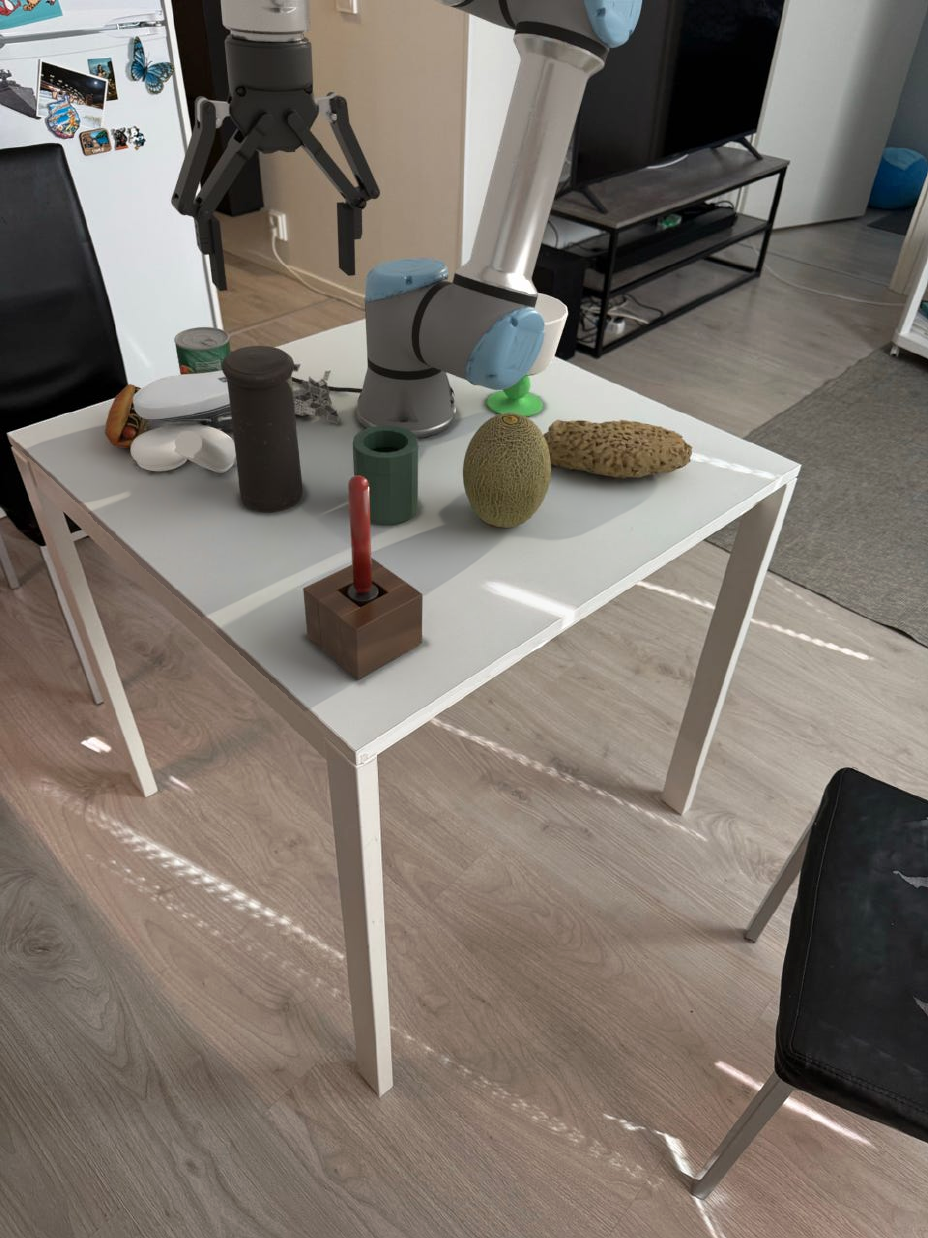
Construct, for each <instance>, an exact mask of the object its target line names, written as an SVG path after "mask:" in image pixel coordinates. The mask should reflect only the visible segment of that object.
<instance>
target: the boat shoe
mask: <svg viewBox="0 0 928 1238" xmlns="http://www.w3.org/2000/svg"><path fill="white" fill-rule="evenodd" d="M133 404H134V408H135V411H136V413H137V414H138V415H139V416H140V417H142V418H143V419H146V420H149V421H151V422H153V423H156V424H162V423H164V424H165V423H179V422H182V423H183V422H185V423H186V422H188V423H189V422H191V423H194V422H195V423H197V424H199V425H205V426H209V427H213V428H215V429H218V430H220V431H222V432H228V431H230V430H233V427H232V418H231V408H230V400H229V392H228V384H227V378H226V376H225V375H224V373H223V371H222V370H221V371H215V372H209V373H199V374H184V375H180V374H177V375H169V376H166V377H163V378H162V377H161V378H159V379H156V380H154V381H152V382H150V383H149V384H147V385H145V386H143V387H141V389H140V390H139V391H138V392H137V393H136V394H135V395H134V397H133Z"/></svg>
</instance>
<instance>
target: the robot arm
mask: <svg viewBox="0 0 928 1238" xmlns="http://www.w3.org/2000/svg"><path fill="white" fill-rule="evenodd" d="M435 1H436V2H437V3H439V4H441V5H444V6H448V7H450V8H454V9H456V10H459V11H462V12H464V13H467V14H469V15H471V16H473V17H476V18H479V19H481V20H484V21H486V22H488V23H491V24H492V25H493V24H494V25H496V26H499V27H501V28H502V27H503V28H505V29H509V30H512V31H514V34H513V39H512V41H513V43H514V45H515V48H516V50H517V52H518V54H519V58H520V61H519V65H518V69H517V74H516V78H515V81H514V84H513V89H512V93H511V96H510V100H509V105H508V109H507V113H506V116H505V121H504V124H503V128H502V132H501V136H500V140H499V144H498V148H497V152H496V156H495V159H494V164H493V166H492V167H493V168H492V171H491V175H490V179H489V183H488V187H487V191H486V195H485V199H484V203H483V207H482V211H481V215H480V218H479V222H478V226H477V230H476V234H475V238H474V242H473V245H472V248H471V249H472V250H471V253H470V257H469V260H468V261H467V262H466V263H465V264H463V265H461V266H460V267H458V268H457V269H456V268H455V270H454V273H453V278H452V282H451V281H449V277H450V272H449V269H448V266H447V264H446V263H445V262H444V261H441V260H438V259H435V258H424V257H413V258H411V257H410V258H401V259H395V260H390V261H386V262H383V263H380V264H378V265H376V266H374V267H373V268H371V269H370V270H369V271H368V273H367V275H366V278H365V292H364V293H365V295H364V298H363V299H364V300H363V301H364V313H365V315H364V316H365V337H366V358H367V359H366V360H367V368H366V372H365V375H364V379H363V383H362V384H363V385H362V388H357V387H343V386H342V387H340V386H330V385H327V386H328V389H329V391H330V392H335V393H336V392H337V393H355V394H356V393H357V394H359V395H358V398H357V402H356V403H357V405H356V416H357V420H358V422H359V423H360V424H361V426H363V427H364V428H365V429H367V428H369V427H375V426H396V427H400V428H404V429H407V430H409V431H411V432H412V433H414V434H415V436H416V437H417V439H423V438H427V437H432V436H435V435H438V434H439V433H442V432H445V431H446V430H447V429H449V428H450V427H452V425H453V424H454V422H455V420H456V412H457V411H456V409H457V407H456V401H455V397H456V396H455V392H454V389H453V387H452V386H451V385H450V380H449V378H448V374H450V375H451V376H455V377H457V378H460V379H462V380H465V381H467V382H468V383H469V384H470V385H473V386H480V387H483V388H487V389H489V390H492V391H503V389H507V388H509V387H511V386H513V385H515V384H516V383H518V382H519V381H520V380H521V378H522V377H524V376H525V375H526V374H527V373H528V371H529V370H530V369H531V367H532V366H533V364H534V362H535V361H536V359H537V357H538V355H539V352H540V350H541V347H542V344H543V340H544V335H545V330H544V329H543V327H544V325H545V324H544V319H543V317H542V315H541V314H540V313H539V312H538V311H537V310H536V309H535V305H536V302H537V298H538V293H539V292H538V291H537V288H536V287H535V285H534V284H535V283H534V282H533V279H532V278H533V274H534V270H535V268H536V264H537V260H538V257H539V254H540V249H541V246H542V243H543V242H542V241H543V239H544V236H545V232H546V229H547V224H548V221H549V217H550V214H551V211H552V207H553V203H554V201H555V197H556V193H557V189H558V185H559V182H560V178H561V176H562V171H563V169H564V168H563V167H564V164H565V161H566V157H567V153H568V150H569V147H570V144H571V143H570V142H571V140H572V136H573V134H574V133H573V132H574V130H575V125H576V122H577V120H578V119H577V118H578V114H579V111H580V107H581V104H582V101H583V97H584V94H585V90H586V87H587V83H588V81H589V79H590V78H591V77H592V76H594V75H595V74H597V73H599V72H600V71H601V70H603V69H604V67H605V65H606V61H607V57H608V55H609V51H610V48H611V49H614V48H615V49H616V48H618V47H620V46H622V45H624V44H625V43H627V42H628V41H629V38H630V36H632V34H633V33H634V32H635V29H636V26H637V24H638V21H639V18H640V15H641V9H642V4H643V0H435ZM220 7H221V19H222V25H223V26H224V27H225V29H227V30H229V31H230V34H228V35H226V38H224V48H225V49H224V50H225V58H226V68H227V81H228V88H229V92H228V96H227V100H226V101H221V100H210V99H208V98H206V97H205V96H202V95H199V96H197V97H196V98H195V100H194V126H193V130H192V133H191V136H190V139H189V142H188V146H187V149H186V152H185V154H184V158H183V161H182V164H181V167H180V171H179V174H178V176H177V180H176V183H175V187H174V190H173V193H172V195H171V199H170V203H171V205H172V206H173V208H174V209H175V211H177V212H178V213H179V214H180V215H182V216H188V217H192V218H193V222H194V223H193V224H194V229H195V230H194V231H195V238H196V246H197V247H198V250H199V252H200V253H202V255H203V256H208V260H209V261H208V262H209V268H210V277H211V283H212V284H213V285H214V286H215V287H216V289H217V290H218V291H219V292H226V291H228V284H227V275H226V267H225V258H224V249H223V248H224V247H223V239H222V238H223V237H222V230H221V229H222V228H221V224H220V223H221V221H220V220H219V219H218V218H217V217H216V216H215V215H214V213H215V211H216V210H217V208H218V206H219V205H220V203H221V202H222V200H223V198H225V195H226V194H227V192H228V191H229V189H230V187H231V186H232V184H233V183H234V182H235V180H236V178H237V176H238V175H239V173H240V172H241V170H242V168H243V167H244V166H245V164H246V162H248V161H249V160H250V159H251V158H252V157H253V155H254V154H255V152H256V151H257V152H259V153H261V154H263V155H269V154H274V153H276V152H278V151H280V152H285V153H296V150H298V149H299V148H300V147H301V149H303V150H304V151H305V153H306V154H307V155H308V156H309V158H310V159H311V160H312V161H313V162H314V164H315V165H316V166H317V167H318V169H319V170H320V171H321V172H322V173H323V175H324V176H325V177H326V178H327V180H328V181H329V182H330V183H331V184H332V185H333V187H334V188H335V189H336V191H337V192H338V193H339V194H340V196H342V198H343V199H344V200H345V202H344V201H340V202H336V220H337V221H336V222H337V247H338V248H337V250H338V251H337V254H338V268H339V270H340V271H342V272H343V273H344V274H345V275H346V276H347V277H352V276H356V247H355V246H356V245H355V244H356V243H355V241H356V240H361V239H362V236H363V210H364V209H365V208H366V207H367V205H368V204H367V203H368V201H370V200H377V199H378V198H379V197H380V195H381V189H380V188H379V185H378V182H377V181H376V178H375V176H374V174H373V172H372V170H371V167H370V166H369V163H368V161H367V159H366V157H365V154H364V152H363V150H362V147H361V145H360V144H359V141H358V139H357V137H356V136H357V135H356V134H355V131H354V129H353V127H352V125H351V123H350V116H349V108H348V101H347V99H346V98H345V97H344V96H342V95H341V94H340V95H339V94H337V93H336V92H334V91H329V92H328V93H327V94H326V96H321V97H316V96H315V93H314V71H313V70H314V69H313V68H314V67H313V50H312V42H311V41H310V39H309V38H308V37H305V33H308V32H309V30H310V29H311V13H310V12H311V11H310V0H220ZM319 113H321V116H322V118H323V119H324V120H325V121H326V122H328V123H329V125H330V128H331V130H332V132H333V135H334V137H335V139H336V141H337V143H338V145H339V147H340V150H341V151H342V154H343V157H344V159H345V160H346V162H347V164H348V166H349V169H350V171H351V173H352V175H353V178H354V179H355V182H356V184H357V186H354V184H353V183H352V182H351V180H350V179H349V178H348V177H347V176H346V174H345V173H344V172H343V171H342V169H341V168H340V167H339V166H338V164H337V163H336V162H335V160H333V158H332V157H331V156H330V154H329V153H328V152H327V150H326V149H325V148H324V146H323V145H322V142H320V140H318V138H317V137H316V136H315V134H314V133H313V132H312V131H311V129H312V127H313V125H314V123H315V122H316V119H317V118H318V116H319ZM227 117H228V119H229V120H230V121H231V122H232V124H233V125H234V126H235V128H236V129H235V131H234V132H233V134H232V135H231V137H230V139H229V141H228V143H227V147H226V149H225V150H224V152H223V154H222V155H221V156H220V158H219V160H218V161H217V163H216V165H215V166H214V168H213V169H212V171H211V173H210V174H209V175H208V177H207V179H206V181H205V182H204V184H203V185H202V187H201V188H200V191H199V192H198V190H199V186H200V184H201V180H202V178H203V176H204V175H203V174H204V171H205V168H206V165H207V162H208V158H209V156H210V153H211V151H212V150H211V149H212V147H213V144H214V141H215V137H216V131H217V130H216V129H219V128H221V127H222V125H223V121H224V119H225V118H227ZM304 381H305V382H307V383H308V381H309V380H304ZM292 383H295V384H299V385H302V378H297V377H294V376H292Z"/></svg>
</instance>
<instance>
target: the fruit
mask: <svg viewBox="0 0 928 1238" xmlns="http://www.w3.org/2000/svg"><path fill="white" fill-rule="evenodd" d="M543 435H544V433H542V430H541V429H540V428H539V426H538V425H537V424H536V423H535V422H534V421H533V420H532V419H530V418H528V416H527V417H525V416H522V415H520V414H516V413H502V414H497V415H494V416H492V417H490V418H489V419H488V420H486V421H485V422H483V424H482V425H480V426H479V428H478V429H477V430H476V431H475V432H474V434H473V435H472V437H471V439H470V441H469V443H468V445H467V448H466V450H465V455H464V458H463V464H462V482H463V487H464V491H465V494H466V497H467V500H468V503H469V504H470V506H471V509H472V510H473V511H474V512H475V514H476V515H477V517H479V519H480V520H481V521H483V522H484V523H486V524H488V525H490V526H493V527H497V528H504V529H505V528H506V529H507V528H515V527H518V526H520V525H523V524H524V523H526V522H527V521H528V520H529V519H530V518H532V516H534V515H535V513H537V511H538V510H539V508H540V507H541V506H542V504H543V502H544V500H545V498H546V495H547V493H548V490H549V486H550V483H551V477H552V476H551V475H552V463H551V460H550V454H549V449H548V445H547V442H546V440H545V438H544V436H543Z"/></svg>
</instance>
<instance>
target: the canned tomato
mask: <svg viewBox="0 0 928 1238" xmlns="http://www.w3.org/2000/svg"><path fill="white" fill-rule="evenodd" d="M173 341H174V345H175V351H176V352H175V353H176V357H177V363H178V369H179V375H184V374H199V373H209V372H215V371H221V370H222V362H223V360H224V358H225V357H226V356H227V355H229V354H230V353H231V352H232V351H231V343H230V334H229V333H228V332H227V331H226V330H224V329H221V328H218V327H213V326H199V327H198V326H197V327H192V328H188V329H185V330H181V331H180V332H178V333H176V335H175V336H174V338H173Z"/></svg>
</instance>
